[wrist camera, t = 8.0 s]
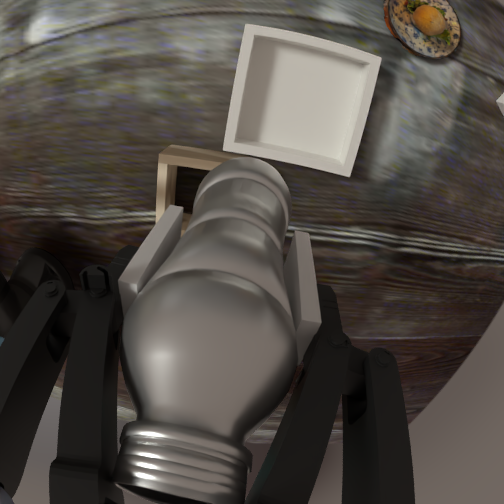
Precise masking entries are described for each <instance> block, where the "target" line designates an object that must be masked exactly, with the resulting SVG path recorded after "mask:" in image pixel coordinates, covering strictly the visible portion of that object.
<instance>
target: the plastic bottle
mask: <svg viewBox="0 0 504 504" xmlns="http://www.w3.org/2000/svg"><path fill="white" fill-rule="evenodd" d="M291 209H292V202H291V195H290V192H289V189H288V187H287V185H286V183H285V182H284V180H283V178H282V177H281V175H280V174H279V172H278V171H277V170H276V169H275V168H274V167H272V166H271V165H269V164H268V163H267V162H264V161H262V160H260V159H256V158H251V157H238V158H233V159H230V160H228V161H225V162H223V163H222V164H220V165H218V166H217V167H215V168H214V169H212V170H211V171H210V172H209V173H208V174H207V175H206V176H205V177H204V179H203V180H202V182H201V184H200V185H199V188H198V191H197V194H196V197H195V200H194V205H193V213H192V216H191V218H190V221H189V224H188V226H187V229H186V231H185V233H184V234H183V236H182V237H181V239H180V240H179V242H178V244H177V245H176V247H175V248H174V250H173V252H172V253H171V255H170V256H169V257H168V258H167V260H166V261H165V262H164V263H163V264H162V266H161V267H160V268H159V269H158V271H157V272H156V273H155V274H154V275H153V277H152V278H151V279H150V280H149V282H148V283H147V284H146V285H145V287H144V288H143V289H142V291H141V292H140V293H139V294H138V295H137V297H136V299H135V300H134V302H133V303H132V305H131V306H130V308H129V309H128V311H127V313H126V315H125V317H124V319H123V323H122V330H121V338H120V347H119V356H120V361H121V366H122V371H123V375H124V380H125V384H126V388H127V390H128V393H129V396H130V399H131V401H132V404H133V407H134V409H135V412H136V414H137V418H136V421H132V422H129V423H127V424H126V425H125V426H124V427H123V430H122V433H121V436H120V444H121V448H120V451H119V454H118V458H117V461H116V464H115V467H114V471H113V474H112V477H113V479H112V484H113V485H114V486H116V487H118V488H119V489H121V490H123V491H126V492H128V493H130V494H132V495H135V496H137V497H140V498H143V499H145V500H148V501H151V502H155V503H158V504H245V494H246V484H247V475H248V474H249V473H250V472H251V468H252V457H253V455H252V453H251V452H250V451H249V450H248V449H247V448H246V447H244V444H245V440H246V439H247V438H249V437H250V436H251V435H252V434H253V433H254V432H255V431H256V430H257V429H258V428H259V427H260V426H261V425H262V424H263V423H264V422H265V421H266V420H267V419H268V418H269V417H270V416H271V414H272V413H273V412H274V410H275V409H276V408H277V407H278V405H279V404H280V403H281V401H282V400H283V399H284V397H285V396H286V394H287V393H288V391H289V389H290V386H291V383H292V380H293V377H294V374H295V371H296V368H297V363H298V350H297V341H296V332H295V327H294V322H293V317H292V313H291V308H290V304H289V299H288V295H287V290H286V286H285V278H284V267H283V254H282V253H283V245H284V238H285V234H286V231H287V228H288V225H289V221H290V217H291Z"/></svg>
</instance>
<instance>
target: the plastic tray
mask: <svg viewBox="0 0 504 504" xmlns="http://www.w3.org/2000/svg"><path fill="white" fill-rule="evenodd" d="M380 63H381V57H378V56H375V55H373V54H370V53H367V52H364V51H361V50H358V49H355V48H352V47H349V46H345V45H342V44H339V43H335V42H332V41H328V40H325V39H321V38H317V37H313V36H309V35H305V34H300V33H296V32H291V31H286V30H281V29H276V28H270V27H264V26H258V25H251V24H246V25H245V30H244V34H243V39H242V44H241V49H240V54H239V60H238V65H237V70H236V75H235V81H234V86H233V92H232V98H231V103H230V109H229V115H228V121H227V127H226V133H225V139H224V146H223V150H224V151H230V152H236V153H242V154H247V155H253V156H258V157H263V158H268V159H273V160H278V161H283V162H288V163H293V164H297V165H302V166H306V167H310V168H315V169H319V170H323V171H327V172H331V173H335V174H339V175H343V176H347V177H350V175H351V171H352V168H353V165H354V161H355V158H356V155H357V151H358V148H359V144H360V141H361V137H362V134H363V130H364V127H365V123H366V119H367V115H368V112H369V108H370V104H371V100H372V96H373V92H374V88H375V84H376V80H377V76H378V71H379V67H380Z"/></svg>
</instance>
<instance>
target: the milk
mask: <svg viewBox="0 0 504 504" xmlns="http://www.w3.org/2000/svg"><path fill="white" fill-rule="evenodd" d="M496 103H497V104H498V106H499V108H500V110H501V112H502V114H503V116H504V93H503V94H502V95H501V96H500V97H499V98H498V99H497V100H496Z"/></svg>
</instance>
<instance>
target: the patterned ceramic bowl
mask: <svg viewBox="0 0 504 504" xmlns="http://www.w3.org/2000/svg"><path fill="white" fill-rule="evenodd" d="M384 11H385V16H384V19H385V22H386V25H387V27H388V28H389V30H390V31H391V34H392V35H393V36H394V37H395V38H398V39H400V41H401V42H402V44H403V46H405V48H407V49H408V50H410V51H411V53H412V54H415V56H416V55H418V56H419V55H420V56H424V57H427V58H432V59H441V58H445V57H448V56H450V55H451V54H452V53H453V52H454V51H456V49H457V47H458V46H459V43H460V40H461V28H460V22H459V19H458V17H457V14H456V12H455V11H454V9H453V7H452V6H451V5H450V3H449V2H448V1H447V0H385V1H384ZM403 48H404V47H403ZM410 51H408V52H410Z"/></svg>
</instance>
